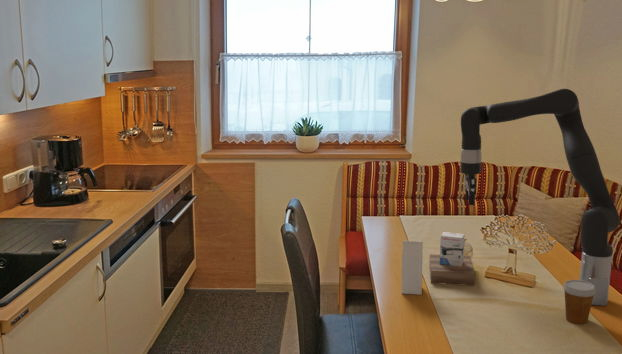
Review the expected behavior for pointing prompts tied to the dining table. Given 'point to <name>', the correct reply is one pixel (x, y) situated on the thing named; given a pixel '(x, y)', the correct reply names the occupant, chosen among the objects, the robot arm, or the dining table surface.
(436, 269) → the walnut block
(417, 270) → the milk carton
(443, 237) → the ink box
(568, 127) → the robot arm
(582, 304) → the disposable coffee cup
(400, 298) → the dining table surface
